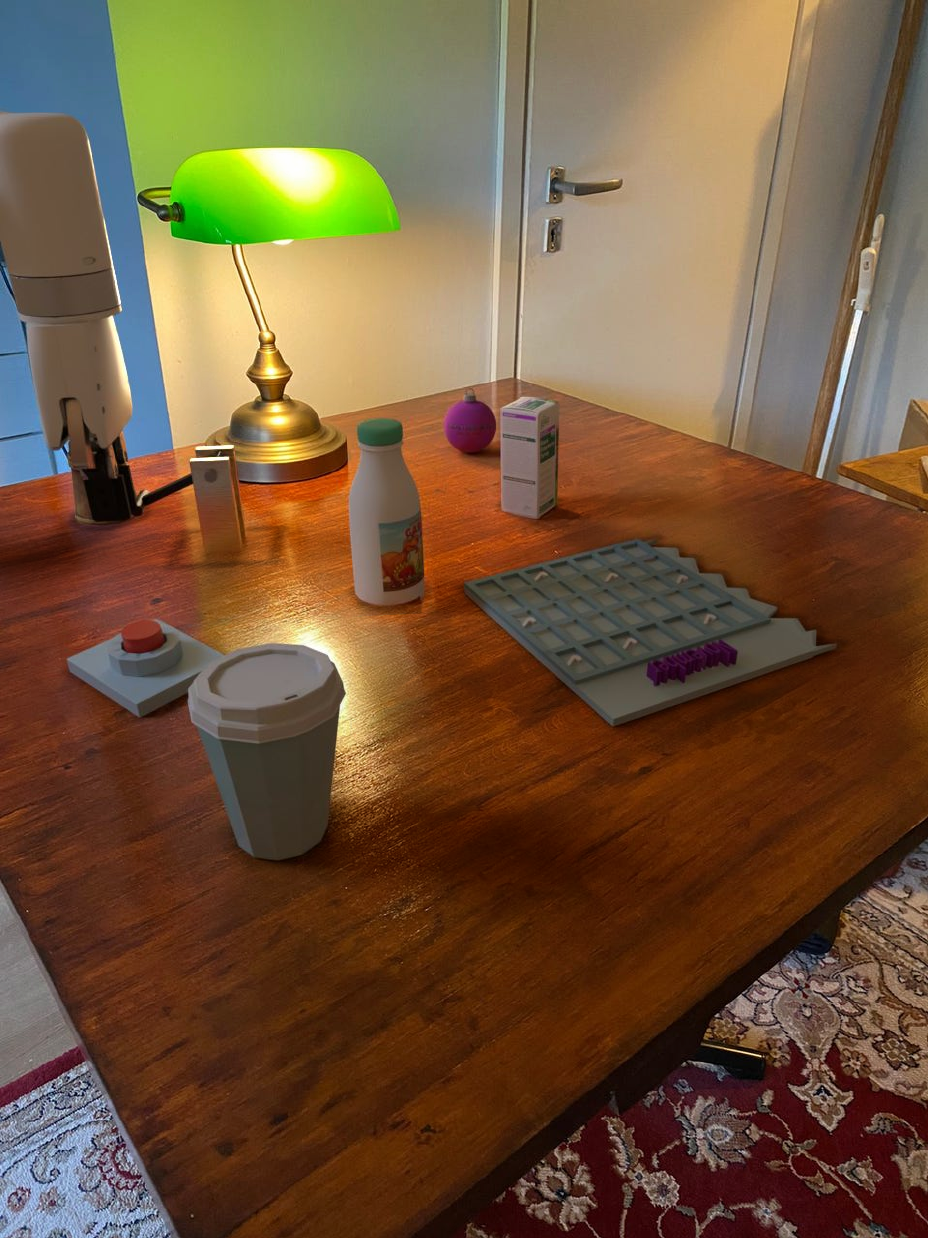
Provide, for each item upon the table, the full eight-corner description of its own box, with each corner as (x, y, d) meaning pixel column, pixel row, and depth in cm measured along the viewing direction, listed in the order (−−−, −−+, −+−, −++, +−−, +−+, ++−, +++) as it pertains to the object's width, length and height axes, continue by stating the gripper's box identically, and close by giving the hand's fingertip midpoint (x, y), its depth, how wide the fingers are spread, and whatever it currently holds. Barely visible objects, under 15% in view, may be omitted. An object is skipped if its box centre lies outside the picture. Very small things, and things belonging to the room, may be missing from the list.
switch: (136, 522, 106) (124, 505, 105) (146, 505, 111) (134, 489, 110) (227, 479, 105) (216, 461, 104) (232, 464, 109) (222, 446, 108)
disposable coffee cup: (193, 824, 70) (158, 659, 62) (318, 771, 75) (300, 613, 68) (249, 910, 62) (216, 735, 55) (384, 845, 68) (371, 677, 60)
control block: (71, 677, 88) (61, 642, 86) (160, 636, 95) (153, 602, 93) (141, 724, 81) (132, 687, 79) (232, 676, 88) (226, 640, 86)
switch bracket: (170, 573, 107) (150, 470, 101) (185, 538, 116) (167, 441, 110) (272, 568, 108) (259, 465, 102) (280, 533, 117) (268, 437, 110)
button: (117, 646, 86) (113, 630, 85) (150, 631, 88) (146, 615, 87) (138, 659, 84) (135, 643, 83) (171, 643, 86) (168, 627, 85)
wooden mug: (157, 493, 129) (133, 366, 120) (138, 532, 118) (110, 394, 109) (93, 496, 128) (63, 369, 120) (67, 536, 117) (32, 397, 108)
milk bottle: (357, 618, 97) (342, 438, 87) (353, 585, 104) (339, 414, 94) (429, 611, 98) (422, 432, 88) (420, 579, 105) (413, 409, 95)
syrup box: (538, 520, 119) (541, 412, 112) (499, 511, 122) (499, 405, 115) (557, 505, 123) (561, 400, 116) (519, 497, 126) (521, 394, 119)
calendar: (659, 543, 113) (661, 525, 112) (838, 649, 91) (842, 627, 89) (463, 593, 102) (463, 574, 101) (611, 727, 80) (613, 704, 79)
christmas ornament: (444, 460, 139) (442, 395, 135) (444, 442, 147) (443, 381, 142) (497, 459, 139) (497, 395, 135) (495, 442, 147) (495, 380, 142)
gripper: (48, 279, 77) (95, 484, 86) (-21, 317, 63) (43, 555, 72) (139, 276, 77) (176, 480, 86) (90, 314, 64) (139, 551, 73)
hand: (115, 513), depth 79 cm, fingers closed
